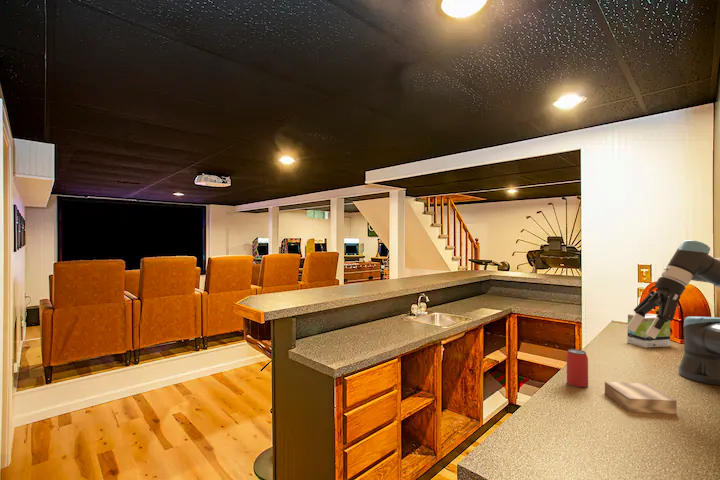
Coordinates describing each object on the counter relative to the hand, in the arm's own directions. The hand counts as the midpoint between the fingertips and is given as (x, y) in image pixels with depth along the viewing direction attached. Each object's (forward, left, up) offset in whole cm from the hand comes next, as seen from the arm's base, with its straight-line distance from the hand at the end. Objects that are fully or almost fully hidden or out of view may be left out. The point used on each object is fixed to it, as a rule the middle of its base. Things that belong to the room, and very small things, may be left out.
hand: (639, 333), depth 124 cm
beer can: (+20, -1, -20) cm, 28 cm away
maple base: (+8, +12, -19) cm, 24 cm away
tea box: (-40, -58, -20) cm, 73 cm away
